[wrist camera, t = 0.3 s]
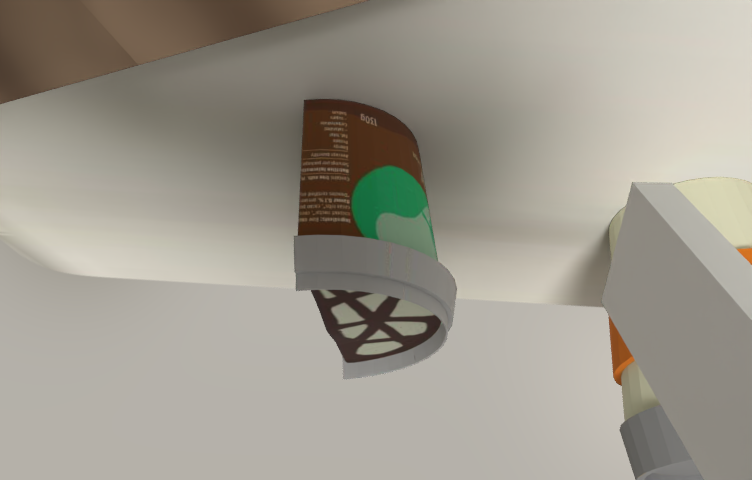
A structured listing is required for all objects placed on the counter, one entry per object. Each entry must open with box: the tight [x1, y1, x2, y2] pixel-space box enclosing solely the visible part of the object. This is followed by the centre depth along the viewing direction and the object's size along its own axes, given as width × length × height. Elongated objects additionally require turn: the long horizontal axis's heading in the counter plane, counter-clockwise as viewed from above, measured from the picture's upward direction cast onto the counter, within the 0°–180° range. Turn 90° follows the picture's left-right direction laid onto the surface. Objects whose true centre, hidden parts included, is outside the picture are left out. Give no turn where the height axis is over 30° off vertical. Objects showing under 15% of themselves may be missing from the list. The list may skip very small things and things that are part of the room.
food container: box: [294, 99, 457, 379], centre depth 33 cm, size 12×6×10 cm, turn 7°
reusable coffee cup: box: [609, 177, 752, 480], centre depth 39 cm, size 13×13×15 cm
